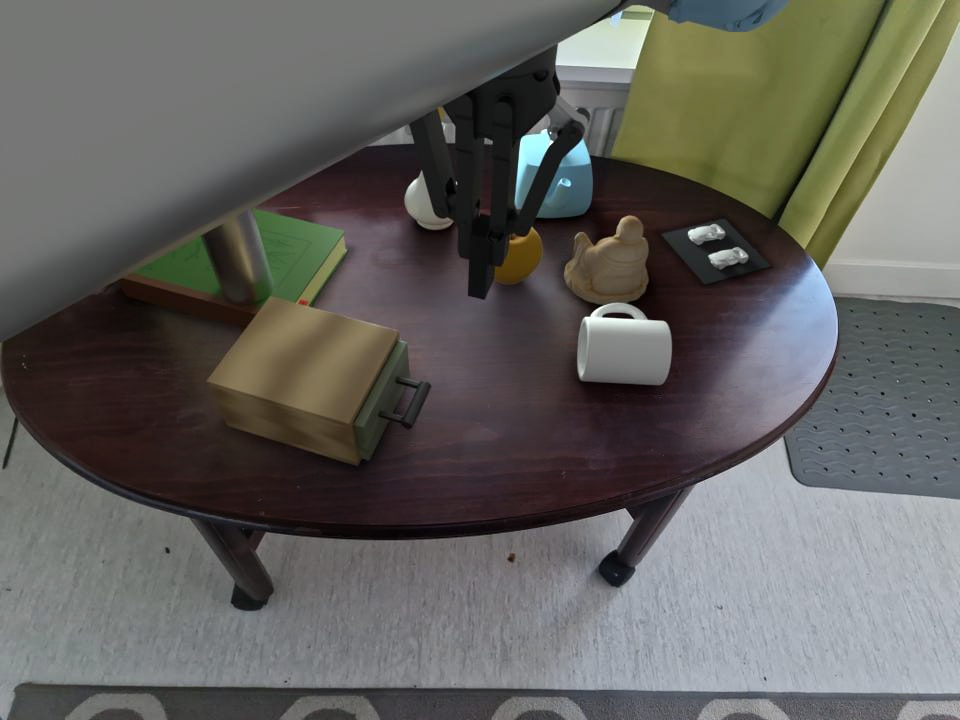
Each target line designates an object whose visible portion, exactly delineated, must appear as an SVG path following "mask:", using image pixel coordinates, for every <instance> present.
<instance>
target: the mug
mask: <svg viewBox="0 0 960 720" xmlns="http://www.w3.org/2000/svg"><path fill="white" fill-rule="evenodd" d="M610 313H611V314H612V313H613V314H614V313H617V314H619V313H621V314H627V315H629V316H631V317H632V318H616V317H603V316H604V315H606V314H610ZM576 351H577V352H576V354H577V357H576V358H577V359H576V363H577V364H576V365H577V374H578V378H579V380H580V381H581V382H591V383H609V384H611V383H612V384H629V385H646V386H661V385H663V384H664V383H665V382H666V380H667V378H668V375H669V373H670V369H671V363H672V355H673V354H672V353H673V339H672V332H671V329H670V326H669V324H668V323H667V321H664V320H652V319H648V317H647V316H646V314H645V313H644V312H643V311H642V310H640V309H639V308H638V307H636V306H634V305H632V304H629V303H612V304H607V305H602V306H600V307H598V308H596V309H595V310H594V311H593V312H592V313H591V314H590V316H584V317H583V318H582V320H581V323H580V328H579V332H578V339H577V350H576Z"/></svg>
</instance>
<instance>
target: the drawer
mask: <svg viewBox="0 0 960 720" xmlns="http://www.w3.org/2000/svg"><path fill="white" fill-rule="evenodd" d="M408 346H409V345H408V342H406V341H403V340H400V341H399V340H398V341H397V343H396V345H395V347H394V349H393V350H392V352H391V354H390V356H389V358H388V360H386V362H385V364H384V366H383V367H382V369H381V371H380V373H379V375H378V377H377V379H376V380H375V382H374V384H373V386H372V388H371V390H370V392H369V393H368V395H367V397H366V399H365V401H364V403H363V405H362V406H361V408H360V410H359V412H358V414H357V416H356V418H355V419H354V421H353V427H354V432H355V437H356V442H357V447H358V452H359V457H360V458H362V459H361V460H366V461H370V460H371V458H372V456H373V454H374V452H375V450H376V448H377V446H378V444H379V442H380V440H381V438H382V435H384V432H385V430H386V428H387V425H388V423H389V422H390V421H391V422H395V423H397V424H400V426H401V427H402V428H403V429H406V430H412V429H413V428H414V425H415V423H416V421H417V419H418V417H419V415H420V413H421V411H422V408H423V406H424V404H425V401H426V400H427V397H428V395H429V393H430V391H431V389H432V384H431V383H430V382H429V381H428V380H421V381H420V382H418V381H414V380H411V375H410V374H411V373H410V362H409V361H410V360H409V359H410V358H409V347H408ZM406 387H408V388H411V389H415V391H414V394H413V396H412V398H411V401H410V402H409V405H408V407H407V408H406V410H405V413H404V415H403V416H402V415H397V414H394V412H395V410H396V407H397V405H398V404H399V401H400V399H401V397H402V395H403V393H404V391H405V390H406Z"/></svg>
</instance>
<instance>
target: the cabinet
mask: <svg viewBox="0 0 960 720" xmlns="http://www.w3.org/2000/svg"><path fill="white" fill-rule="evenodd" d="M400 336H401V335H400V330H397V329H393V328H389V327H385V326H382V325H378V324H375V323H371V322H367V321H364V320H361V319H356V318H352V317H348V316H345V315H341V314H338V313H334V312H330V311H326V310H323V309H318V308H316V307H312V306H310V307H308V306H304V305H301V304H297V303H293V302H289V301H286V300H282V299H278V298H275V297H271V296H270V297H269V299H268V300H267V301H266V303H265V304H264V305H263V307H262V308H261V309H260V311H259V312H258V313H257V315H256V316H255V317H254V319H253V320H252V321H251V323H250V324H249V325H248V327H247V328H246V329H244V331H243V332H242V333H241V334H240V336H239V337H238V338H237V339H236V341H235V342H234V344H233V345H232V346H231V348H230V349H229V350H228V352H227V353H226V355H224V356H223V358H222V359H221V361H220V362H219V363H218V365H217V366H216V368H214V370H213V372H212V373H211V374H210V375H209V377H208V378H207V379H206V384H207V386H208V388H209V390H210V392H211V394H212V396H213V399H214V400H215V403H216V405H217V407H218V409H219V411H220V413H221V415H222V418H223V420H224V421H225V423H226V425H227V427H230V428H233V429H236V430H240V431H242V432H245V433H249V434H253V435H256V436H260V437H262V438H265V439H269V440H272V441H275V442H278V443H282V444H285V445H288V446H291V447H294V448H298V449H301V450H305V451H308V452H311V453H314V454H317V455H320V456H324V457H327V458H331V459H333V460H336V461H340V462H343V463H346V464H349V465H353V466H356V467H358V466H359V465H360V463H361V461H362V460H363V459H362V458H360V457H359V452H358V447H357V442H356V437H355V432H354V427H353V421H354V419H355V418H356V416H357V414H358V412H359V410H360V408H361V406H362V405H363V403H364V401H365V399H366V397H367V395H368V393H369V392H370V390H371V388H372V386H373V384H374V382H375V380H376V379H377V377H378V375H379V373H380V371H381V369H382V367H383V366H384V364H385V362H386V360H388V358H389V356H390V354H391V352H392V350H393V349H394V347H395V345H396V343H397V341H398V340H399V341H401V337H400Z"/></svg>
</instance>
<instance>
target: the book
mask: <svg viewBox="0 0 960 720" xmlns="http://www.w3.org/2000/svg"><path fill="white" fill-rule="evenodd" d="M253 212H254V215H255V219H256V222H257V226H258V229H259V233H260V236H261V240H262V243H263V247H264V250H265V254H266V257H267V261H268V264H269V268H270V271H271V275H272V278H273V282H274V286H273V289H272V291H271V293H270V294H269V295H268V296H267V297H266V298H265V299H263V300H261V301H259V302H257V303H254V304H249V305H237V304H233V303H231V302H229V301H227V300H226V299H225V298H224V297H223V295H222V292H221V290H220V287H219V284H218V282H217V279H216V276H215V274H214V271H213V268H212V266H211V263H210V260H209V258H208V255H207V253H206V250H205V247H204V245H203V242H202V239H201V237H200V236H199V237H197V238H195V239H193V240H191V241H190V242H188V243H186V244H184V245H182V246H180V247H178V248H177V249H175V250H173V251H171V252H169V253H167V254H165V255H164V256H162V257H160V258H158V259H156V260H154V261H152V262H150V263H149V264H147V265H145V266H143V267H141V268H139V269H137V270H136V271H134V272H132V273H130V274H128V275H126V276H124V277H123V278H121V279H119V280H117V282H118V284H119V286H120V288H121V289H122V291H123V293H124V295H125V297H128V298H131V299H134V300H135V299H136V300H137V301H138V300H139V301H142V302H146V303H149V304H152V305H157V306H160V307H164V308H167V309H171V310H175V311H177V312H182V313H185V314H188V315H189V314H190V315H192V316H196V317H200V318H204V319H206V320H211V321H214V322H218V323H222V324H225V325H229V326H233V327H236V328H239V329H243V330H245V329H246V328H247V327H248V325H249V324H250V323H251V321H252V320H253V319H254V317H255V316H256V315H257V313H258V312H259V311H260V309H261V308H262V307H263V305H264V304H265V303H266V301H267V300H268V299H269V297H270V296H271V297H275V298H278V299H282V300H286V301H289V302H293V303H297V304H301V305H304V306H308V307H312V305H313V304H314V303H315V300H316V299H317V298H318V296H319V295H320V293H321V292H322V290H323V289H324V287H325V286H326V284H327V283H328V282H329V280H330V279H331V277H332V276H333V274H334V273H335V271H336V269H337V268H338V267H339V266H340V264H341V262H342V261H343V259H344V258H345V257H346V256H347V254H348V252H349V249H348V248H346V243H345V234H346V230H345V229H339V228H335V227H332V226H327V225H323V224H319V223H315V222H311V221H306V220H302V219H299V218H294V217H289V216H285V215H282V214H279V213H274V212H270V211H265V210H261V209H258V208H257V209H256V208H253Z"/></svg>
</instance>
